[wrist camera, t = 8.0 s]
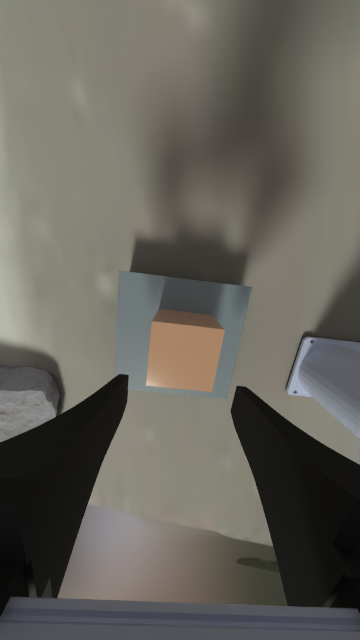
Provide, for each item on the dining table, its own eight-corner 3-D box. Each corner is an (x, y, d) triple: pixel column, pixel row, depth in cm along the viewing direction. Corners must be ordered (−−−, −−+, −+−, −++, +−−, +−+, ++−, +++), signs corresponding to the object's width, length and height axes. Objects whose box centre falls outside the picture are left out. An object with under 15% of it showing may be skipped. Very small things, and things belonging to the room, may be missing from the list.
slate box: (236, 285, 19) (251, 287, 15) (217, 376, 22) (226, 398, 18) (131, 271, 18) (118, 270, 14) (126, 368, 21) (115, 388, 17)
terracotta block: (211, 315, 16) (224, 329, 11) (203, 362, 17) (212, 392, 13) (158, 308, 15) (151, 321, 11) (153, 357, 17) (145, 385, 12)
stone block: (67, 361, 23) (-26, 360, 20) (48, 384, 18) (-75, 387, 16) (71, 427, 26) (-9, 434, 23) (56, 461, 21) (-44, 474, 19)
